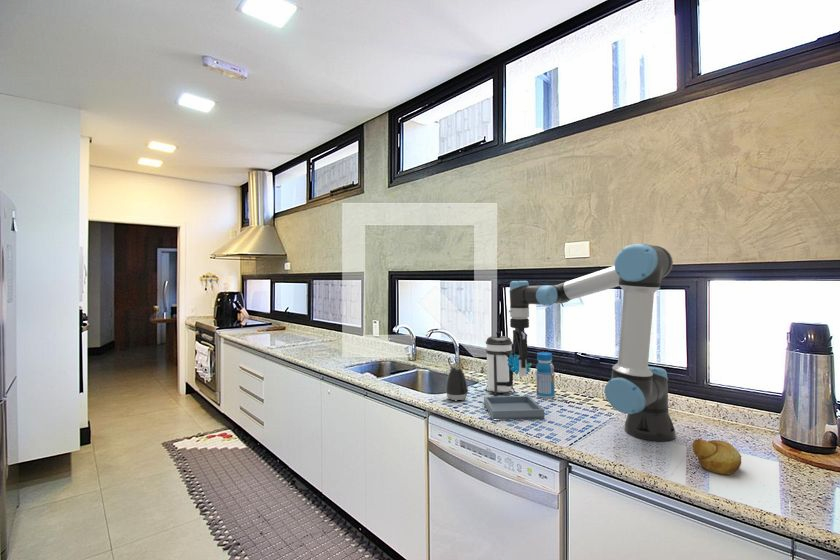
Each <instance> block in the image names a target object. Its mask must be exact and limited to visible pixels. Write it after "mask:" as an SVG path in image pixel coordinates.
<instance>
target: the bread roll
mask: <svg viewBox="0 0 840 560" xmlns="http://www.w3.org/2000/svg"><path fill="white" fill-rule="evenodd" d="M691 445H692V446H691V448H692V451H693V453H694V456H696V457H697V459H698V463H699V464H700V465H701V466H702V468H704V469H705V470H707V471H710V472H712V473H715V474H721V475H730V474H732V473H734V472H736V471H737V470H739V469H740V467H741V465H742V457H743V456H742V455H741V453H740V452H739V450H738V449H737V448H735V446H733V444H732V443H729V442H726V441H725V440H718V439H715V440H714V439H713V440H708V441H706V440H704V439H701V438H699V439H695V440H694V441H693V442H692V444H691Z"/></svg>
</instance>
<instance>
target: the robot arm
mask: <svg viewBox="0 0 840 560" xmlns="http://www.w3.org/2000/svg"><path fill="white" fill-rule="evenodd" d="M673 263H674V261H673V257H672V255H671V254H670V252H669V251H668V250H667V249H665V248H664V247H661V246H658V245H652V244H645V243H635V244H629V245H627V246H625V247H624V248H622V249H621V250H619V252H618V253H617V255H616V256H615V259H614V263H613V264H614V265H613V266H610V267H607V268H603V269H601V270H597V271H594V272H592V273H588V274H585V275H582V276H580V277H577V278H576V277H575V278H574V279H571V280H568V281H565V282H561V283H559V284H553V285H551V284H550V285H548V284H545V285H530V284H529V281H528V280H512V281H510V282H509V302H510V303H509V304H510V306H509V310H508V313H509V315H510V316H509V317H510V319H509V323H510V325H509V326H510V328H512V354H513V356H514V355H515V354H516V355H518V356H517V357H516V358H517V359H518V360H519V372H518V376H520V377H526V376H527V375H528V374H526V371H527V370H526V364H527V362H526V360H527V361H528V359H529V352H528V351H529V350H528V333H526V332H525V329H528V328H529V327H530V319H529V317H530V307H529V305H538V306H539V305H541V306H552V305H554V304H565V303H568V302H570V301H572V300H575V299H579V298H582V297H585V296H589V295H591V294H596V293H599V292H603V291H607V290H609V289H613V288H616V287H620V288H621V290H622V292H623V295H622V306H621V319H620V330H619V331H620V332H619V343H618V357H617V358H618V359H617V362H616V363H615V364H614V365H612V368H611V369H612V370H611V379H610V380H608V381H607V383H606V384H605V387H604V396H605V398H606V400H607V402H608V403H609V405H611V407H612V408H613V409H615V410H616V411H617V412H619V413H622V414H626V415H627V416H626V419H625V422H624V431H625V432H626V433H627V434H629V435H630V436H632V437H635V438H637V439H643V440H646V441H652V442H653V441H654V442H668V441H673V440H674V439H675V438H676V429H675V426H674V423H673V422H672V419H671V416H670V412H669V390H668V389H669V385H668V383H669V382H668V381H669V377H668V373H667V370H666V369H664V368H662V367H657V366H649V358H650V357H649V356H650V347H651V346H650V344H651V334H652V324H653V323H652V321H653V312H654V311H653V309H654V299H655V297H654V296H655V293H656V292H657V291H658V290H660V289H661V284H662V279H663V278H665V277H666V276H668V275H669V274H670V272H671V270H672V268H673V265H674V264H673ZM519 356H520V358H519ZM513 359H515V358H514V357H513ZM516 371H517V370H516Z"/></svg>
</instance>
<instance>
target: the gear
mask: <svg viewBox="0 0 840 560" xmlns="http://www.w3.org/2000/svg"><path fill="white" fill-rule="evenodd" d="M517 356H518V355H516V354H515V355H514V354H512V355H510V356H509V357H510V358H511V359H512V361H511V359H510V358H508V360H507V361H509V362H508V366H512V367H511V368H510V370H511V371H513V373H514V374H515V375H519V360H518V359H517V358H516V357H517ZM514 358H515V359H514ZM519 358H520V356H519ZM510 362H511V363H512V364H511V363H510ZM527 362H528V359H527V360H526V374H527V375H529V373H530V371H531V366H533V365H532V363H531V362H530V363H527ZM516 370H517V371H516Z"/></svg>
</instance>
